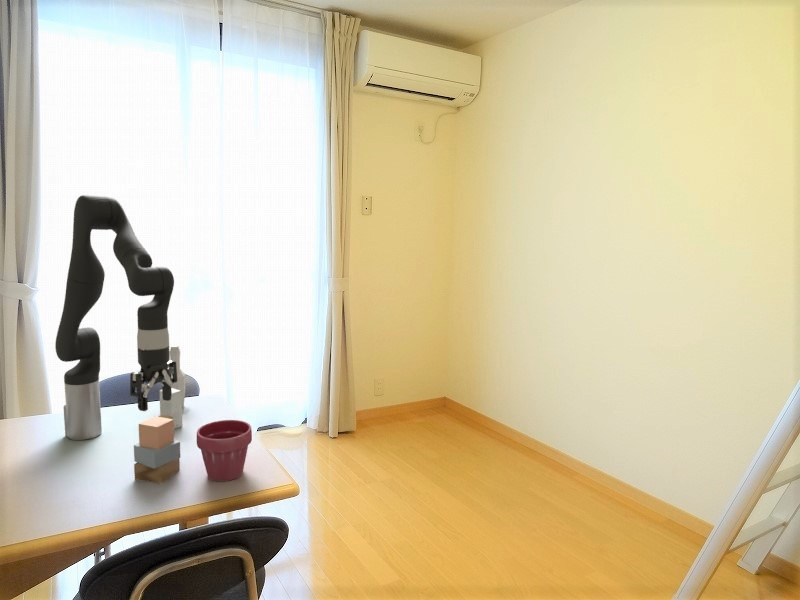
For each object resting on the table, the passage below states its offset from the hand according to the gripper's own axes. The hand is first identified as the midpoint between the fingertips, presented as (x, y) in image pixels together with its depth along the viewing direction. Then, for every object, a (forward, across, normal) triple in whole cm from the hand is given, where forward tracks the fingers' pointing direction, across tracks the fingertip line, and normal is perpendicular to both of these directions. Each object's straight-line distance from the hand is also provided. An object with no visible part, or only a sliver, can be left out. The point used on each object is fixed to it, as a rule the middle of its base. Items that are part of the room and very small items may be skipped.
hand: (155, 405), depth 149 cm
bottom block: (+20, 0, 0) cm, 20 cm away
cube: (+11, 0, 0) cm, 11 cm away
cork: (+20, -12, -8) cm, 24 cm away
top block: (+15, 0, 0) cm, 15 cm away
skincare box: (+20, -29, -20) cm, 40 cm away
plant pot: (+19, -7, +16) cm, 26 cm away
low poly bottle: (+20, -44, -30) cm, 57 cm away
